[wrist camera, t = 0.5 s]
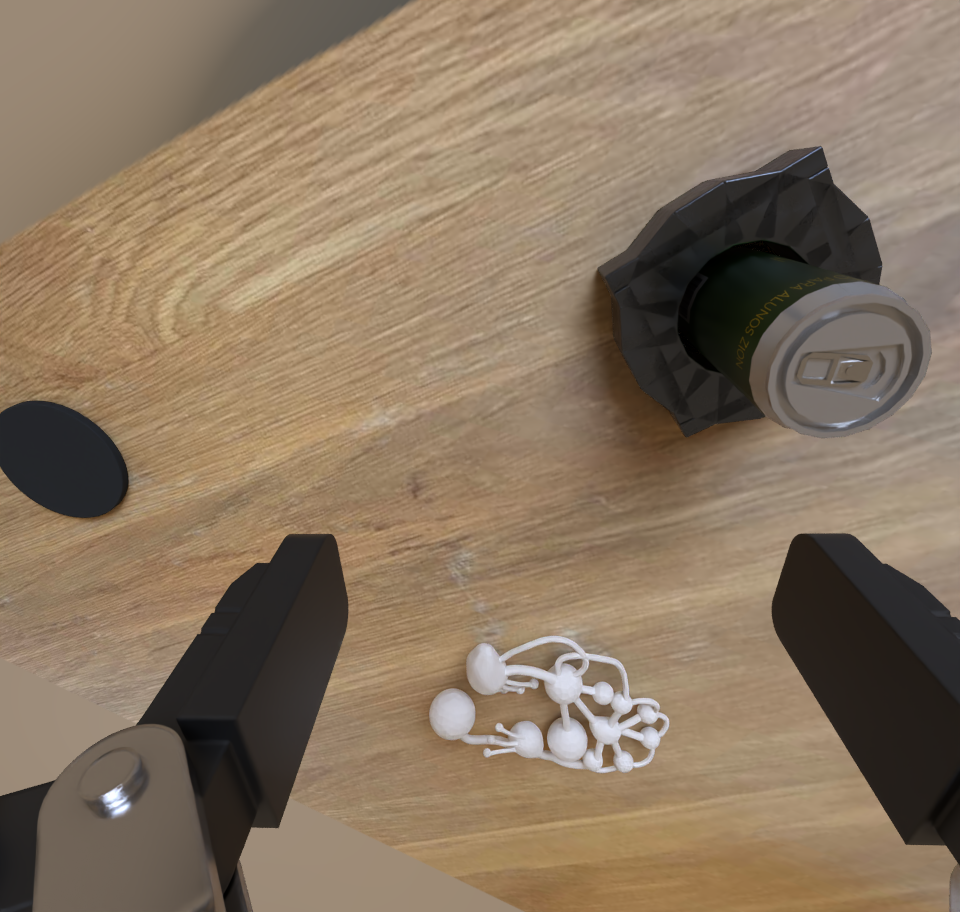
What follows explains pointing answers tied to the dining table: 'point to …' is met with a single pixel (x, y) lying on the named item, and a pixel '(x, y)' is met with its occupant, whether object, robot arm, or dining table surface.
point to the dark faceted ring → (702, 236)
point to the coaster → (61, 459)
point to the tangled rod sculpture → (563, 686)
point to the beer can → (806, 341)
